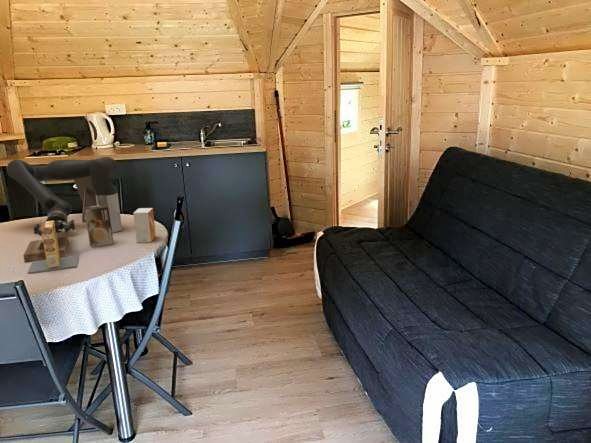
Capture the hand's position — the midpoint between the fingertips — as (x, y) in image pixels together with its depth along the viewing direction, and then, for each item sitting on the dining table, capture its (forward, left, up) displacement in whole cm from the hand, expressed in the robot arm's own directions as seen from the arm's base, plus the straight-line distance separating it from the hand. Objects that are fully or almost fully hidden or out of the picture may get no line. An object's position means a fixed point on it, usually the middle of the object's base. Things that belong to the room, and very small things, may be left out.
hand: (53, 231), depth 180 cm
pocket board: (+5, -10, -11) cm, 16 cm away
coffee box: (-15, -13, -11) cm, 23 cm away
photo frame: (-10, -61, -11) cm, 63 cm away
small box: (-33, -11, -11) cm, 37 cm away
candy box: (+1, +7, -11) cm, 12 cm away
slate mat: (+1, +7, -11) cm, 13 cm away
